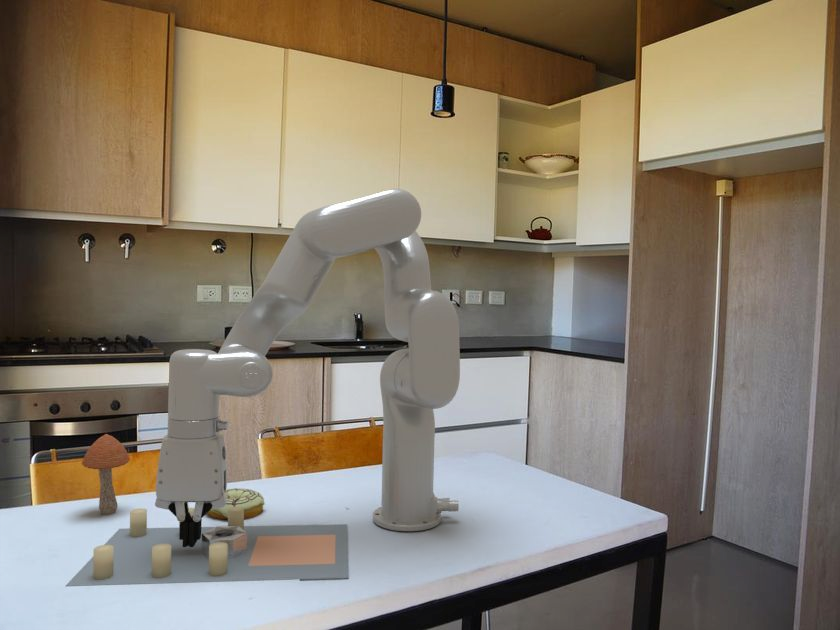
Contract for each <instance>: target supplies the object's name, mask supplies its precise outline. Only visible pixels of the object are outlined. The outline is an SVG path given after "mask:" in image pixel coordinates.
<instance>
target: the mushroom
mask: <svg viewBox="0 0 840 630" xmlns="http://www.w3.org/2000/svg"><path fill="white" fill-rule="evenodd" d="M130 460H131V458H130V456H129V453H128V451H127V449H126V448H125V446H124V445H123V444H122V443H121V442H120V441H119V440H118V439H117V438H115V437H114V436H113V435H111V434H110V435H109V434H107V433H105V434H104V435H102V436H100V437H98V438H97V439H96V440H95V441H94V442H93V443H92V444H91V445H90V447H89V448H88V449H87V451H86V453H85V455H84V457H83V459H82V461H81V465H82V466H83V467H84V468H88V469H90V470H91V469H92V470H98V475H99V484H100V485H99V486H100V489H99V490H100V491H99V499H98V500H99V502H98V510H99V512H100V514H101V515H104V516H109V515H114V514H115V513H116V512H117V510H118V509H117V508H118V502H117V497H116V493H115V490H114V486H113V475H112V474H113V473H112V472H113V471H112V470H113V469H115V468H118V467H122V466H125V465H126V464H127V463H129V462H130Z"/></svg>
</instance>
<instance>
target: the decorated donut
mask: <svg viewBox="0 0 840 630" xmlns="http://www.w3.org/2000/svg"><path fill="white" fill-rule="evenodd" d="M225 496H226V500H227V503H226V505H225V506H224V507H222V508H217V509H212V510H210V511H209V512H208V513H207V514H208V515H209V516H210V517H211V518H214V519H219V520H228V509H230V508H233V507H242V508H244V520H246V519H251V518H255V517H257V516H258V515H259V514H260V513H261V512H262V511H263V508H264V505H265V504H266V503H265V498H264V496H263V495H262V494H261V493H259V492H258V491H257V490H252V489H249V488H241V487H240V488H238V487H235V488H234V487H233V488H226V491H225Z"/></svg>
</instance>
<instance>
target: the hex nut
mask: <svg viewBox="0 0 840 630" xmlns="http://www.w3.org/2000/svg"><path fill="white" fill-rule="evenodd" d="M213 527H214V528H212V529H210V530H208V531H206V532H204V533H202V553H203V554H204V555H205V556H206V557H207V558H208V559H209V546H210V545H211V544H213V543H217V542H224V543H227V544H228V556H227V559H233V558H235V557H237V556H239V555H240V554H242V553H244V552H245V551H247V532H246V531H244V530H243V529H242V528H240V527H239V526H228V525H226V526H225V525H223V526H222V525H220V526H219V525H217V526H213Z"/></svg>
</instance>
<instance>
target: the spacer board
mask: <svg viewBox="0 0 840 630" xmlns="http://www.w3.org/2000/svg"><path fill="white" fill-rule="evenodd" d="M194 508H195V507H189V513H190V516H191V517H192V516H193V514H194ZM147 519H148V509H146V508H135V509H132V510H130V512H129V528H118V530H117V531H116V532H114V534H113V535H112V536H111V537H110V538H109V539H108V540H107V541H106V542H105V544H102V545H99V546H96V547H94V548H93V556H92V557H91V558H90V559H89V560H88V561H87V562H86V564H85V565H83V567H82V568H81V569H79V571H77V573H76V574H75V575H74V576H73V577H72V578H71V579H70V580H69V581H68V582H67V584H66V585H65V587H85V586H87V587H92V586H93V587H94V586H119V585H120V586H122V585H123V586H125V585H129V586H130V585H157V584H158V585H160V584H162V585H163V584H164V585H165V584H188V583H189V584H193V583H222V582H223V583H224V582H225V583H226V582H249V581H250V582H254V581H255V582H256V581H257V582H258V581H259V582H260V581H262V582H264V581H288V580H289V581H291V580H294V581H295V580H299V581H323V580H326V581H327V580H329V581H330V580H348V579H349V552H348V551H349V548H348V547H349V544H348V543H349V542H348V524H347V523H342V524H341V523H335V524H332V523H331V524H295V525H294V524H291V525H289V524H287V525H285V524H284V525H278V524H277V525H244V523H245V519H244V508H242V507H233V508H230V509H228V519H227V526H239V527H240V528H242V529H243V530H244V531H246V532H247V551H245V552H244V553H242V554H240V555H239V556H237V557H235V558H233V559H227V556H228V544H227V543H224V542H217V543H213V544H211V545H210V546H209V559H208V558H207V557H206V556H205V555H204V554H203V553H202V533H204V532H206V531H208V530H210V529H212V528H214V527H215V526H201V538H200V540H197V542H196V544H195V545H194V547H190V546H189V545H188V546H187V547H183V540H180V539H179V533H180V522H179V521H178V523H179V527H148V526H147V525H148V524H147V523H148V520H147Z"/></svg>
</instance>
